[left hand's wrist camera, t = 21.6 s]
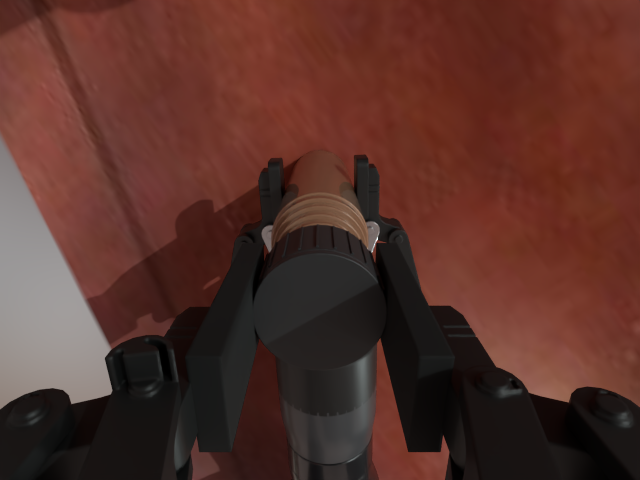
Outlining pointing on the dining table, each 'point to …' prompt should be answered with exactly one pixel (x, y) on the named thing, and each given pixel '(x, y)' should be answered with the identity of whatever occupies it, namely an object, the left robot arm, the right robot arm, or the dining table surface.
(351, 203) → the bottle
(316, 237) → the cap
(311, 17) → the dining table surface
